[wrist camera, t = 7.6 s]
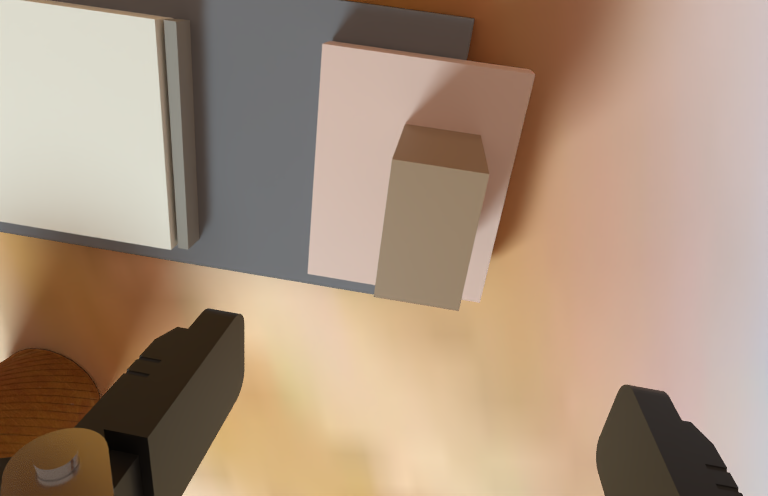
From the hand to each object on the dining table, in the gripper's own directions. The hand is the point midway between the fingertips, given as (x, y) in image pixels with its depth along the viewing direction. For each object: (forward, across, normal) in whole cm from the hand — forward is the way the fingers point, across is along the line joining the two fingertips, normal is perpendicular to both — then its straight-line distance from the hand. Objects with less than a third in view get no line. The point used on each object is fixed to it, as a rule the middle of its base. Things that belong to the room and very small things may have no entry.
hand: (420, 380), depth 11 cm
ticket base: (+14, +12, 0) cm, 18 cm away
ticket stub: (+13, +1, 0) cm, 13 cm away
